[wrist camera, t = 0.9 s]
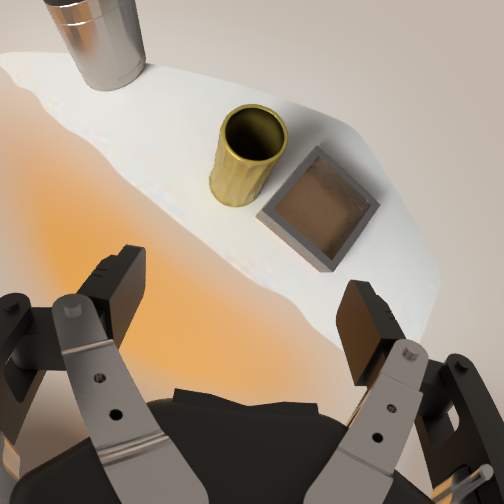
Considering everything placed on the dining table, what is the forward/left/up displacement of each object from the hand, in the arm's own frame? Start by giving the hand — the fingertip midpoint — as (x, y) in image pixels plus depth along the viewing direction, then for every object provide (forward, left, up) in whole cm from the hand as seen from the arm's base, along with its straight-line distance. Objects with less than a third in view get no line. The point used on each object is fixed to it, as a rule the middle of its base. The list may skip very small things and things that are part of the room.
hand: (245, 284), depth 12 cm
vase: (-5, +10, -25) cm, 27 cm away
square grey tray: (+4, +13, -24) cm, 28 cm away
